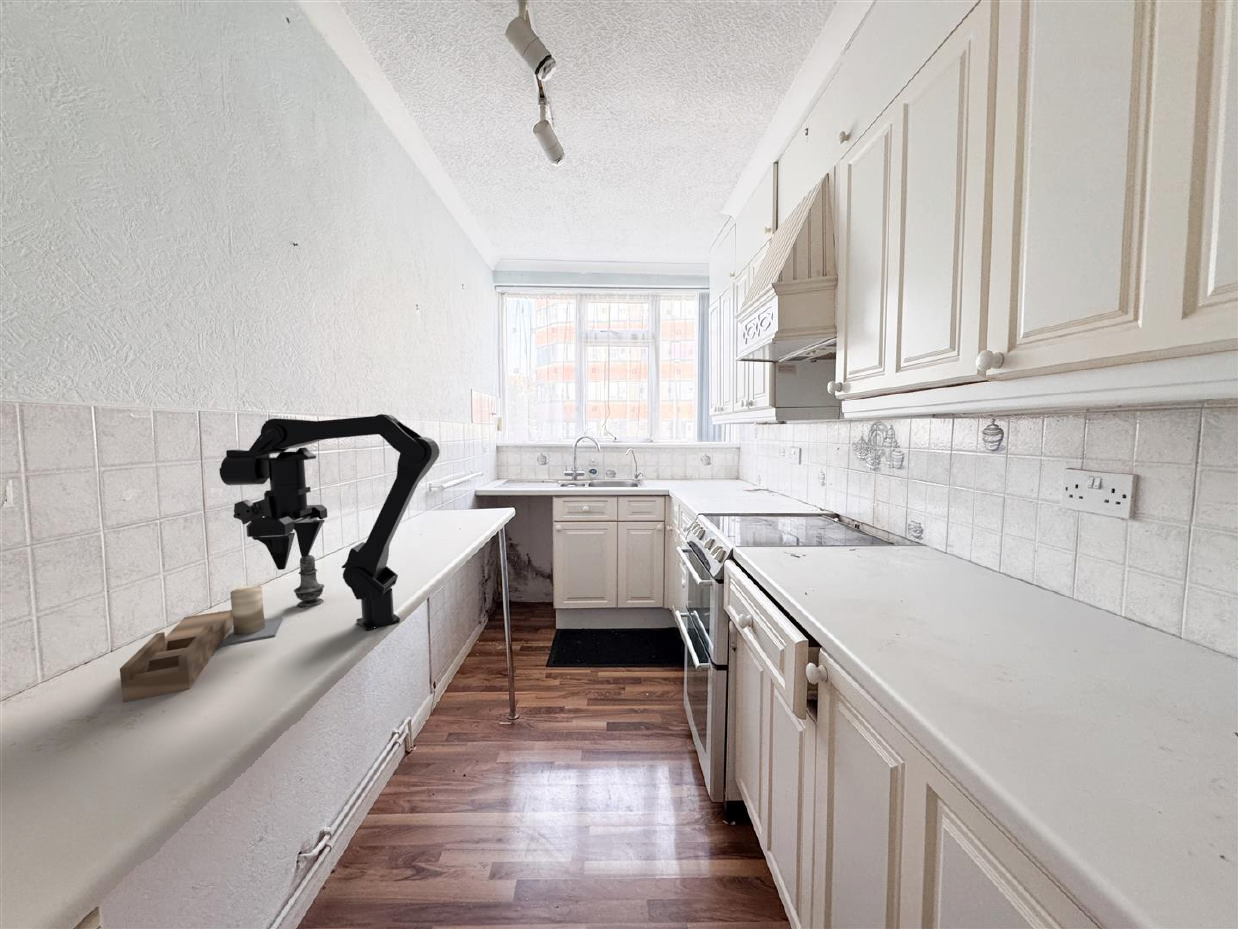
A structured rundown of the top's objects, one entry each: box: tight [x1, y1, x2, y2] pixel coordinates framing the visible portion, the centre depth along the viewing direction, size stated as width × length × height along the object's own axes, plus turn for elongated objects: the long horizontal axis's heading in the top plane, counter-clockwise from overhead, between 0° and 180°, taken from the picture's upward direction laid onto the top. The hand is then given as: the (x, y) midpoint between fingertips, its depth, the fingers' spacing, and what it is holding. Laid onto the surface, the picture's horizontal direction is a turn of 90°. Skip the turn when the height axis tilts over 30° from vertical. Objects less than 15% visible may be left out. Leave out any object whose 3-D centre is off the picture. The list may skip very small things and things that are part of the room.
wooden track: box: [119, 609, 233, 703], centre depth 84 cm, size 28×8×5 cm, turn 27°
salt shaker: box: [293, 554, 325, 609], centre depth 109 cm, size 6×6×12 cm
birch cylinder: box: [229, 585, 265, 635], centre depth 94 cm, size 5×5×8 cm
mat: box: [221, 616, 284, 646], centre depth 95 cm, size 10×8×1 cm
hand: (293, 562), depth 95 cm, fingers open, 9 cm apart
